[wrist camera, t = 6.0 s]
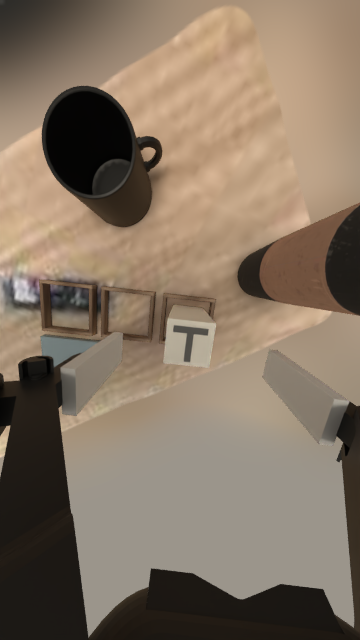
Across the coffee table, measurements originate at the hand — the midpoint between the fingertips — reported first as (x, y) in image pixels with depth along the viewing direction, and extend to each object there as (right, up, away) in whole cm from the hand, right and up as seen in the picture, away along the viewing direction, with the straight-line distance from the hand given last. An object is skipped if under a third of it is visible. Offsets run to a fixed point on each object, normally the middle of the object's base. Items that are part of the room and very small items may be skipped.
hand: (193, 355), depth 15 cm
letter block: (0, +3, +14) cm, 15 cm away
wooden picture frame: (-20, +5, +14) cm, 25 cm away
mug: (-9, +23, +10) cm, 27 cm away
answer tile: (-21, -4, +16) cm, 27 cm away
